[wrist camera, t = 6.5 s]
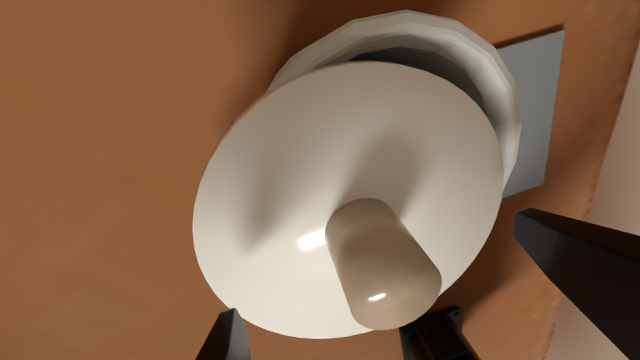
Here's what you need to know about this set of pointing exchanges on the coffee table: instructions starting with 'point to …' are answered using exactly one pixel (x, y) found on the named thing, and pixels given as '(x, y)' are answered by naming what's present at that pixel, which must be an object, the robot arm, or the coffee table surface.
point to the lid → (347, 199)
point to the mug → (425, 63)
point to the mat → (533, 104)
